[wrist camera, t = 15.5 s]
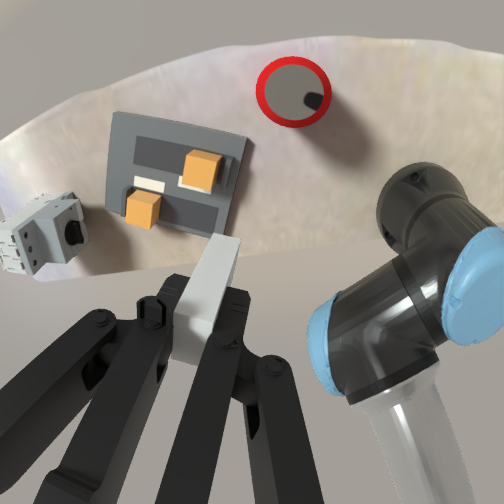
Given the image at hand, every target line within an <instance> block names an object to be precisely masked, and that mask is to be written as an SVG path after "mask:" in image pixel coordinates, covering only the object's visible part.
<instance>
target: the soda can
mask: <svg viewBox="0 0 504 504" xmlns="http://www.w3.org/2000/svg"><path fill="white" fill-rule="evenodd" d="M331 96H332V91H331V85H330V82H329V79H328V77H327V75H326V74H325V72H324V71H323V70H322V69H321V68H320V67H319V66H318V65H317V64H315V63H314V62H312V61H310V60H308V59H305V58H302V57H295V56H290V57H283V58H280V59H277V60H275V61H273V62H271V63H270V64H269V65H268V66H266V67H265V68H264V70H263V71H262V72H261V74H260V76H259V78H258V80H257V84H256V98H257V101H258V104H259V107H260V108H261V110H262V111H263V113H264V114H265V115H266V116H267V117H268V118H269V119H271V120H272V121H273V122H275V123H277V124H279V125H282V126H285V127H291V128H299V127H305V126H308V125H311V124H313V123H315V122H316V121H318V120H319V119H320V118H321V117H322V116H323V115H324V114H325V113H326V111H327V109H328V107H329V105H330V102H331Z"/></svg>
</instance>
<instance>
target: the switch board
mask: <svg viewBox="0 0 504 504" xmlns="http://www.w3.org/2000/svg"><path fill="white" fill-rule="evenodd" d="M247 138H248V137H244V136H240V135H236V134H232V133H228V132H224V131H220V130H215V129H211V128H206V127H202V126H197V125H192V124H188V123H183V122H178V121H172V120H167V119H162V118H156V117H150V116H144V115H138V114H132V113H125V112H114V113H113V117H112V125H111V133H110V142H109V153H108V164H107V178H106V196H105V210H108V211H112V212H116V213H119V214H121V216H122V217H125V216H126V209H127V198H128V197H129V196H130V195H132V194H133V193H134V192H135V191H136V190H141V191H145V192H149V193H153V194H157V195H161V203H160V211H159V219H158V220H157V222H156V224H160V225H164V226H167V227H171V228H175V229H178V230H182V231H186V232H189V233H193V234H197V235H200V236H204V237H208V238H211V237H212V235H213V233H217V234H221V235H224V230H225V226H226V222H227V218H228V214H229V209H230V205H231V201H232V197H233V193H234V189H235V185H236V181H237V177H238V173H239V169H240V165H241V161H242V157H243V153H244V150H245V146H246V142H247ZM194 149H195V150H200V151H204V152H208V153H213V154H217V155H221V156H222V159H221V163H220V167H219V172H218V176H217V181H216V184H215V185H214V187H213V188H212V190H211V191H208V190H204V189H200V188H196V187H192V186H188V185H184V184H181V183H182V177H183V171H184V166H185V160H186V155H187V154H188V153H190V152H191V151H192V150H194Z"/></svg>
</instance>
